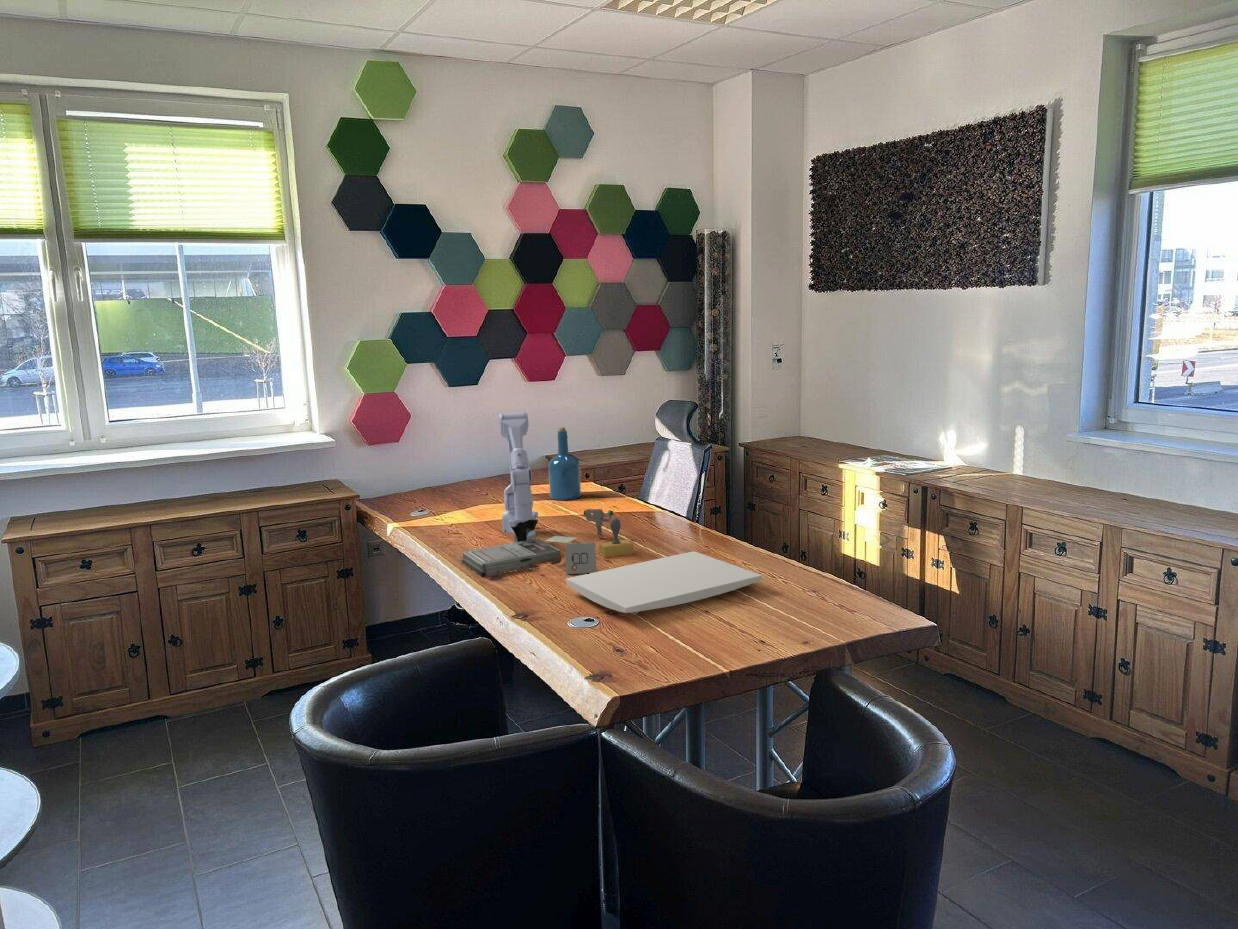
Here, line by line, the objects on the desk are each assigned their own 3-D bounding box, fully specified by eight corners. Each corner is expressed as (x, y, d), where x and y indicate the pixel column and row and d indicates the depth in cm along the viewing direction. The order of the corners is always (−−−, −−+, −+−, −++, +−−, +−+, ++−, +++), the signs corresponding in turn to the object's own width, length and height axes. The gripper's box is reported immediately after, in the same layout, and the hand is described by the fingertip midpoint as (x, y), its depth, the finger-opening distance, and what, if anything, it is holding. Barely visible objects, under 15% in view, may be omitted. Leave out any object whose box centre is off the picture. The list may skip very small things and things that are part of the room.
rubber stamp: (604, 558, 297) (603, 521, 295) (599, 553, 303) (597, 518, 301) (633, 554, 301) (632, 518, 298) (627, 550, 306) (626, 514, 304)
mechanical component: (613, 539, 320) (611, 511, 318) (584, 538, 322) (583, 510, 320) (614, 537, 323) (613, 509, 321) (586, 536, 325) (585, 509, 323)
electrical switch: (565, 575, 280) (564, 544, 279) (566, 571, 285) (565, 542, 285) (596, 574, 280) (595, 543, 279) (596, 570, 285) (595, 541, 285)
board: (626, 625, 235) (625, 608, 235) (566, 594, 263) (565, 578, 262) (762, 591, 258) (762, 575, 258) (694, 565, 285) (694, 551, 285)
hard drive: (462, 565, 297) (461, 551, 296) (539, 551, 310) (538, 538, 309) (482, 578, 281) (481, 564, 281) (562, 563, 294) (561, 550, 293)
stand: (544, 544, 316) (544, 540, 316) (555, 540, 322) (555, 535, 322) (567, 547, 312) (567, 543, 312) (577, 542, 318) (577, 537, 318)
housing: (514, 545, 311) (513, 530, 310) (521, 542, 315) (520, 528, 314) (529, 546, 308) (528, 532, 308) (536, 543, 312) (535, 529, 311)
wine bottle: (543, 499, 390) (539, 428, 385) (562, 493, 401) (559, 424, 395) (569, 502, 382) (565, 430, 377) (588, 496, 393) (585, 426, 388)
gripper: (521, 508, 301) (523, 549, 303) (544, 499, 314) (546, 538, 316) (503, 507, 304) (505, 547, 307) (527, 498, 317) (529, 536, 319)
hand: (525, 542), depth 312 cm, fingers closed on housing, 4 cm apart
